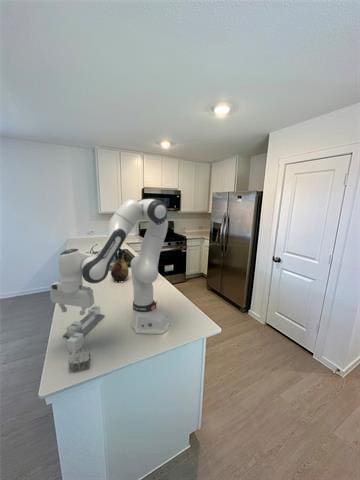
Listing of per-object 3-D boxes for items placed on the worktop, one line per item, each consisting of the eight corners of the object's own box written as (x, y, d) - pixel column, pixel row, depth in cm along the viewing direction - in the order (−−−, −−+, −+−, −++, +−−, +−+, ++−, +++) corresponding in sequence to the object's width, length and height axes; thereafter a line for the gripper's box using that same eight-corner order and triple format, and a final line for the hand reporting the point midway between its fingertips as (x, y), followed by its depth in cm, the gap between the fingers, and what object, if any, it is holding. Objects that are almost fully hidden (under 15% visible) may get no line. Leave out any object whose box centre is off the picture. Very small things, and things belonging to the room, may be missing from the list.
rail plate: (105, 316, 122) (104, 306, 120) (79, 341, 99) (78, 329, 98) (90, 314, 123) (89, 304, 122) (62, 338, 101) (61, 326, 100)
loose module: (84, 344, 97) (83, 333, 96) (75, 353, 91) (74, 341, 90) (76, 343, 98) (76, 331, 97) (67, 351, 92) (66, 339, 91)
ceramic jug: (132, 279, 181) (132, 247, 176) (119, 285, 168) (118, 250, 163) (119, 275, 190) (118, 245, 184) (106, 280, 176) (104, 247, 171)
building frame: (89, 369, 83) (89, 357, 82) (68, 374, 80) (67, 362, 79) (90, 358, 89) (90, 347, 88) (70, 363, 86) (69, 351, 85)
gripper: (96, 284, 90) (97, 312, 93) (57, 279, 94) (59, 306, 96) (87, 290, 84) (89, 320, 86) (46, 285, 88) (48, 313, 90)
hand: (73, 313), depth 91 cm, fingers open, 8 cm apart
